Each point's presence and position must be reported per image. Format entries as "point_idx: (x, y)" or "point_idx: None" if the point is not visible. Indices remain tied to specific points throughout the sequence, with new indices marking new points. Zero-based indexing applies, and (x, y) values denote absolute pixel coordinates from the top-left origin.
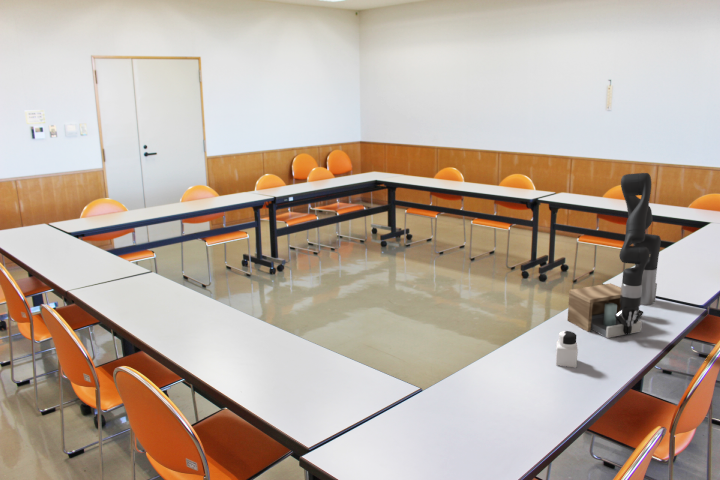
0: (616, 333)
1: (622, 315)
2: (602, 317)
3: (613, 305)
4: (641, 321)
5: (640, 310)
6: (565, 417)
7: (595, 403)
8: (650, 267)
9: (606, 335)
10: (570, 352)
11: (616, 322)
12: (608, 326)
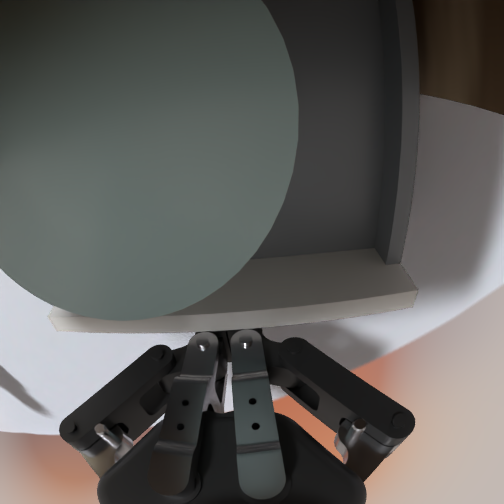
0: None
1: (146, 437)
2: None
3: (112, 224)
4: (410, 306)
5: (393, 450)
6: (4, 422)
7: (33, 430)
8: None
9: None
10: None
11: (306, 71)
12: (60, 317)
